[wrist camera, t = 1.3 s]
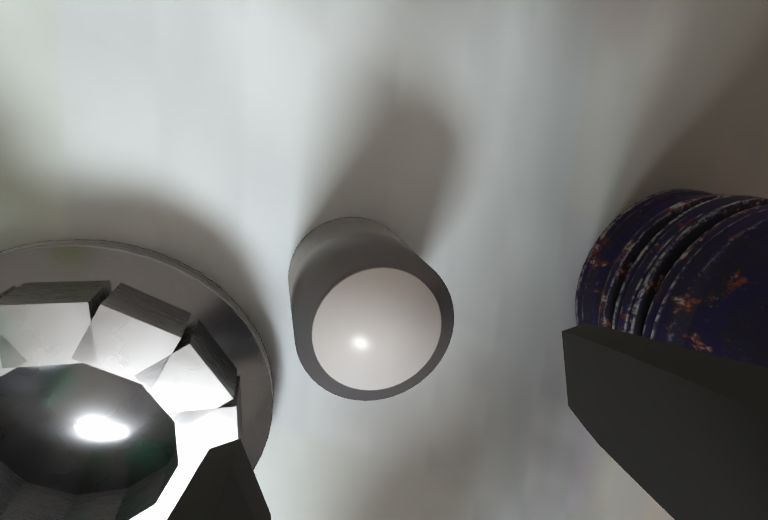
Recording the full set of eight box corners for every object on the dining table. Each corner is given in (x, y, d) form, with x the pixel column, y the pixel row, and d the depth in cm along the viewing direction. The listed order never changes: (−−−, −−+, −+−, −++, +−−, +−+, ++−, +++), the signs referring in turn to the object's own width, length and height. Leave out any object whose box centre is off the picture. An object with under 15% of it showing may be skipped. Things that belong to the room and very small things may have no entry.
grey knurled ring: (329, 332, 19) (340, 369, 16) (183, 567, 20) (169, 637, 18) (-20, 167, 14) (-91, 178, 12) (-173, 484, 16) (-267, 561, 13)
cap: (431, 254, 19) (485, 299, 14) (369, 350, 20) (401, 425, 15) (329, 193, 17) (352, 221, 12) (264, 301, 18) (262, 367, 13)
